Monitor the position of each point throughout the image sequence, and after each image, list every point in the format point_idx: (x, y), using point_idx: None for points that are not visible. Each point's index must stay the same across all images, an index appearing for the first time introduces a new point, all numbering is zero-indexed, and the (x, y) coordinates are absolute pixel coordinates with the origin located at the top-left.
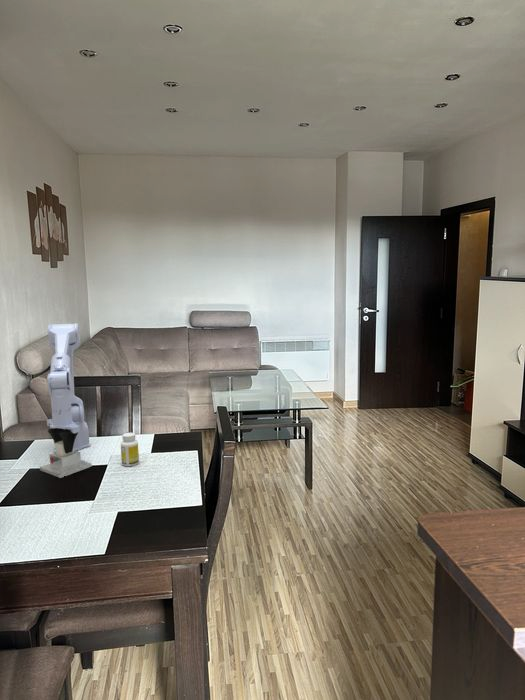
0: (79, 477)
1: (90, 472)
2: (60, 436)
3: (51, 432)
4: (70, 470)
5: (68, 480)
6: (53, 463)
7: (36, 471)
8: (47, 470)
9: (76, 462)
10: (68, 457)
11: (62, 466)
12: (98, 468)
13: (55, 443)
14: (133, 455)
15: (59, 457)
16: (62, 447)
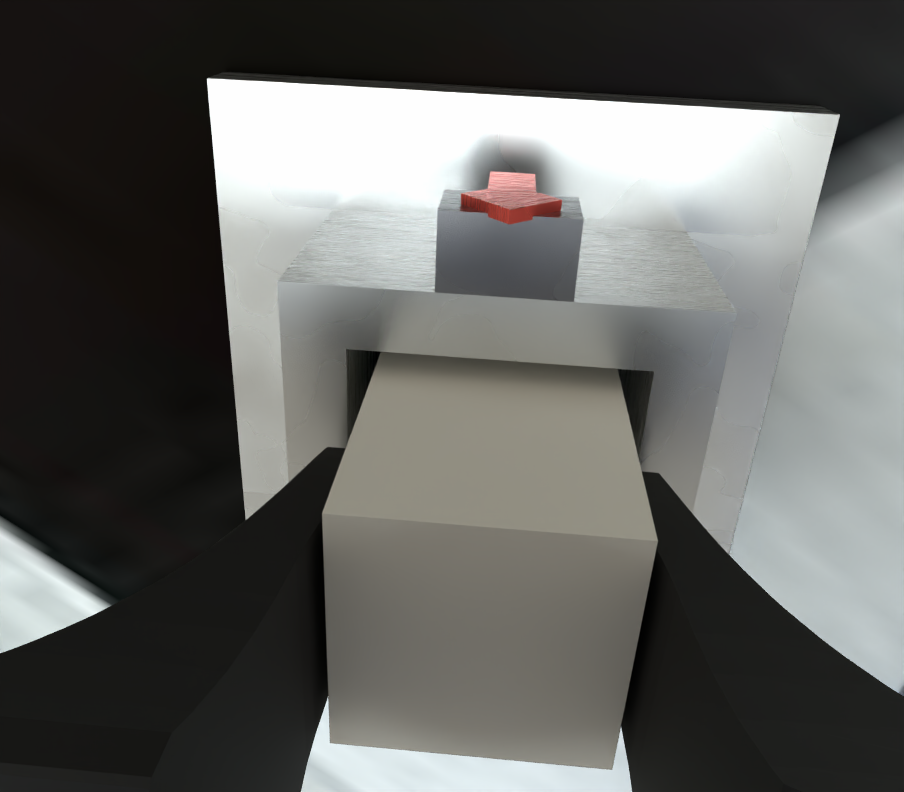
0: (36, 238)
1: (91, 416)
2: (663, 780)
3: (797, 769)
4: (246, 281)
5: (46, 79)
6: (587, 249)
7: (840, 38)
8: (591, 100)
9: None
10: (292, 408)
11: (316, 235)
12: (137, 536)
13: (637, 529)
14: None
15: (367, 296)
16: (337, 478)
